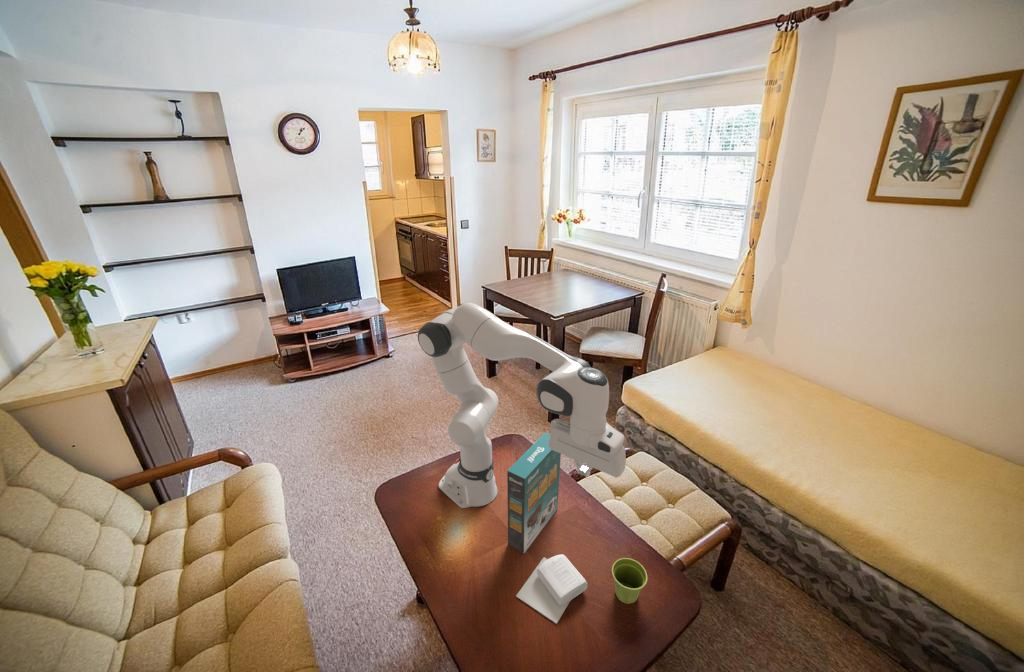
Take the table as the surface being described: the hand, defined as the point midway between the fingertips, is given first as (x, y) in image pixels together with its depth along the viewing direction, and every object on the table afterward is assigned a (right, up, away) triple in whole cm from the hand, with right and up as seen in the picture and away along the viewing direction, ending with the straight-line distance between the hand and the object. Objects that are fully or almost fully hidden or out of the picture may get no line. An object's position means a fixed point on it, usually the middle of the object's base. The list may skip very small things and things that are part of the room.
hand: (583, 473), depth 109 cm
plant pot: (+13, -37, +9) cm, 40 cm away
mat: (-8, -36, +10) cm, 38 cm away
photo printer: (-2, -35, +5) cm, 36 cm away
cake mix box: (-12, -28, +30) cm, 42 cm away
